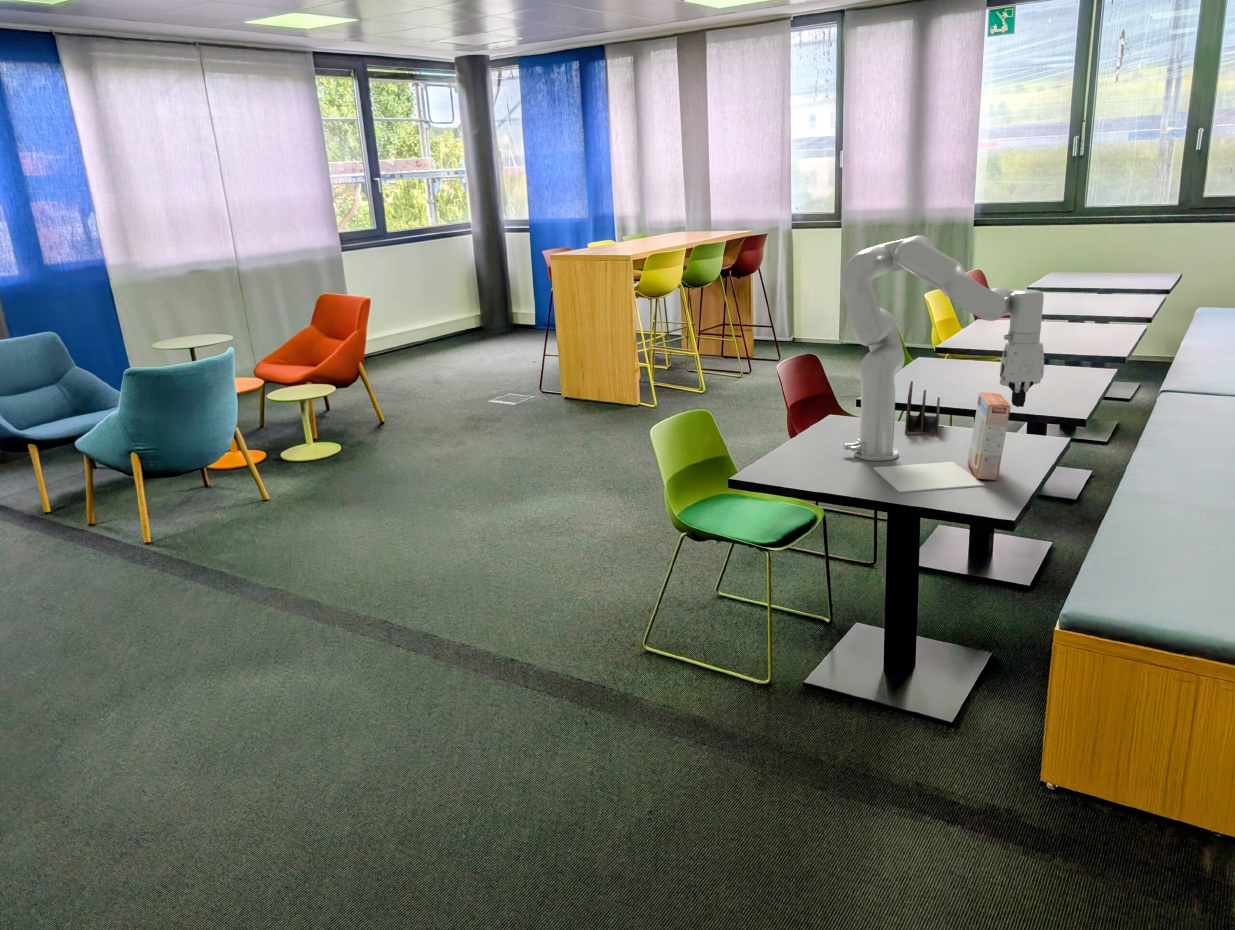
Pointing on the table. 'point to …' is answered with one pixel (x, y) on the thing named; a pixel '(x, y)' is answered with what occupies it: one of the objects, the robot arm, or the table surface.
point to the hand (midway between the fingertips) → (1017, 405)
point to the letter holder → (921, 418)
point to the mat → (927, 477)
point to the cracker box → (988, 436)
